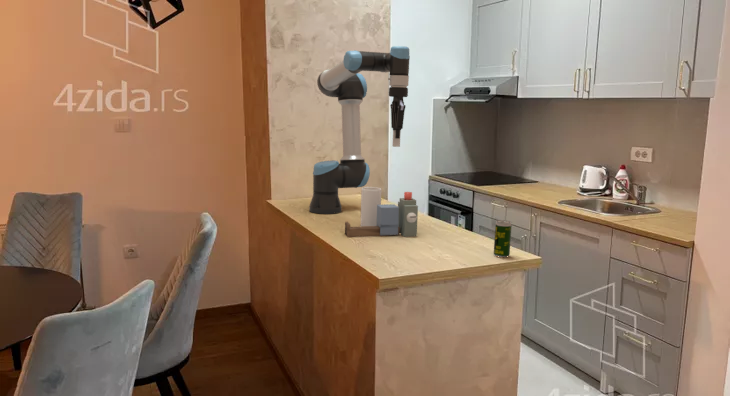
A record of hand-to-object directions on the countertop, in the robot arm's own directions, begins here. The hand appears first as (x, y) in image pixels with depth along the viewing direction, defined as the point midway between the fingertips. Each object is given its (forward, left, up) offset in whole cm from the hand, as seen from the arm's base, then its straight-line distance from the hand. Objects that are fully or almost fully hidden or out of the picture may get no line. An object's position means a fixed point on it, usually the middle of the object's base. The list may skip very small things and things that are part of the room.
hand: (396, 146), depth 225 cm
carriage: (+10, -6, -34) cm, 36 cm away
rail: (+10, -12, -34) cm, 37 cm away
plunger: (+10, +2, -21) cm, 24 cm away
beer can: (+47, +25, -34) cm, 63 cm away
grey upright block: (+10, +2, -34) cm, 35 cm away
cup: (-4, -9, -34) cm, 35 cm away
